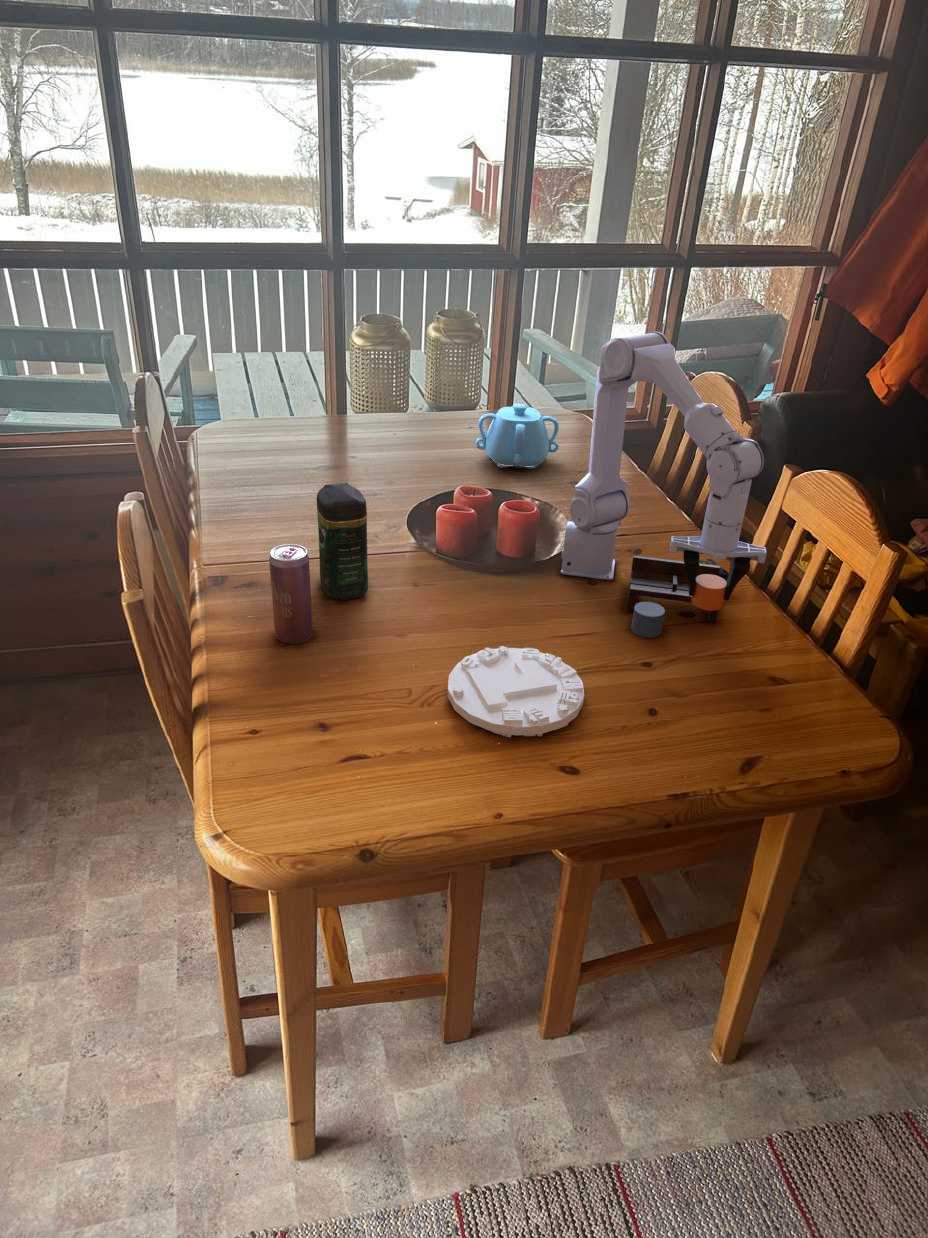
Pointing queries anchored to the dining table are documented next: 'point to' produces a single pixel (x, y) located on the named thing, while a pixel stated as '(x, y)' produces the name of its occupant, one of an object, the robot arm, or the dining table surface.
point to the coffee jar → (342, 541)
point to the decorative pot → (517, 436)
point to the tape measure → (722, 572)
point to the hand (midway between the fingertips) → (708, 595)
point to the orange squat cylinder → (709, 592)
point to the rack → (664, 581)
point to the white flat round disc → (515, 691)
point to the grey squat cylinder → (647, 619)
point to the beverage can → (291, 593)
